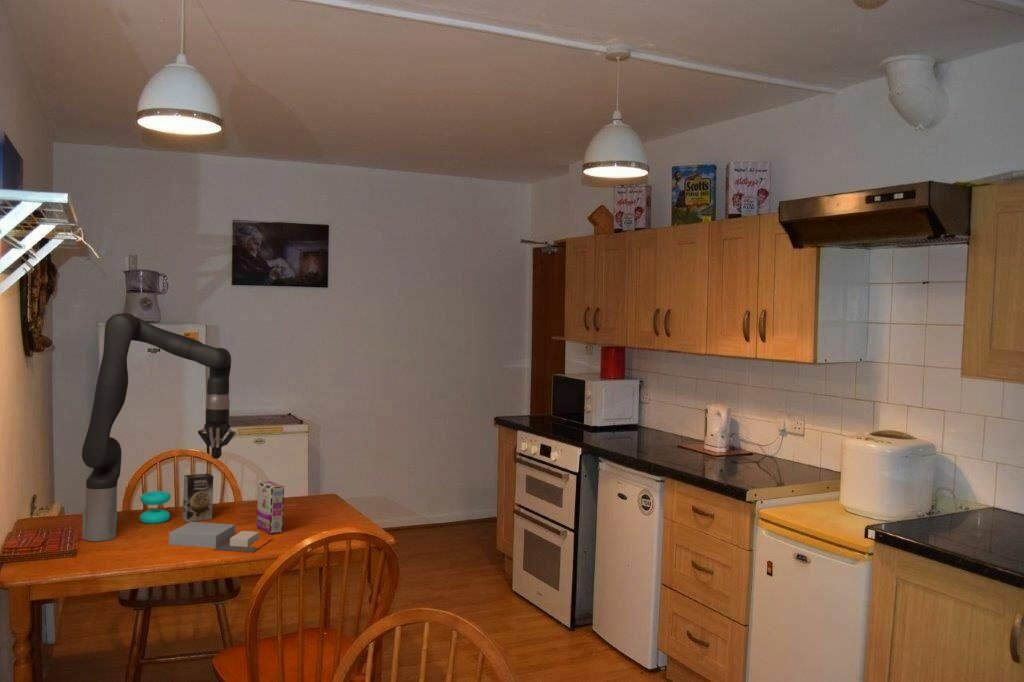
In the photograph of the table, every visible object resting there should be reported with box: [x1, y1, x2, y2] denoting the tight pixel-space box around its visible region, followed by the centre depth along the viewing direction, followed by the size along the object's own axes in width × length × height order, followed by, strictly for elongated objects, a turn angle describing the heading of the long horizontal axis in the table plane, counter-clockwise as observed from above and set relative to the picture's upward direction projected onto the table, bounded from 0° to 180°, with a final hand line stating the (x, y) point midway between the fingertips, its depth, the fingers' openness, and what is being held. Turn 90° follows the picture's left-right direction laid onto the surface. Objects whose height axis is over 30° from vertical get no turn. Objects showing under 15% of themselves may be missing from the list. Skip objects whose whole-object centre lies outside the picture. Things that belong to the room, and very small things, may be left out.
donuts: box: [139, 490, 172, 524], centre depth 286 cm, size 10×10×10 cm
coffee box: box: [182, 473, 214, 523], centre depth 290 cm, size 9×6×16 cm
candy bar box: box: [256, 480, 285, 535], centre depth 279 cm, size 11×5×16 cm, turn 42°
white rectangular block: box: [230, 530, 260, 547], centre depth 263 cm, size 6×9×2 cm, turn 174°
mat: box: [213, 540, 258, 553], centre depth 262 cm, size 13×16×1 cm
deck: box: [168, 521, 236, 549], centre depth 264 cm, size 16×14×4 cm
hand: (216, 458), depth 267 cm, fingers closed
